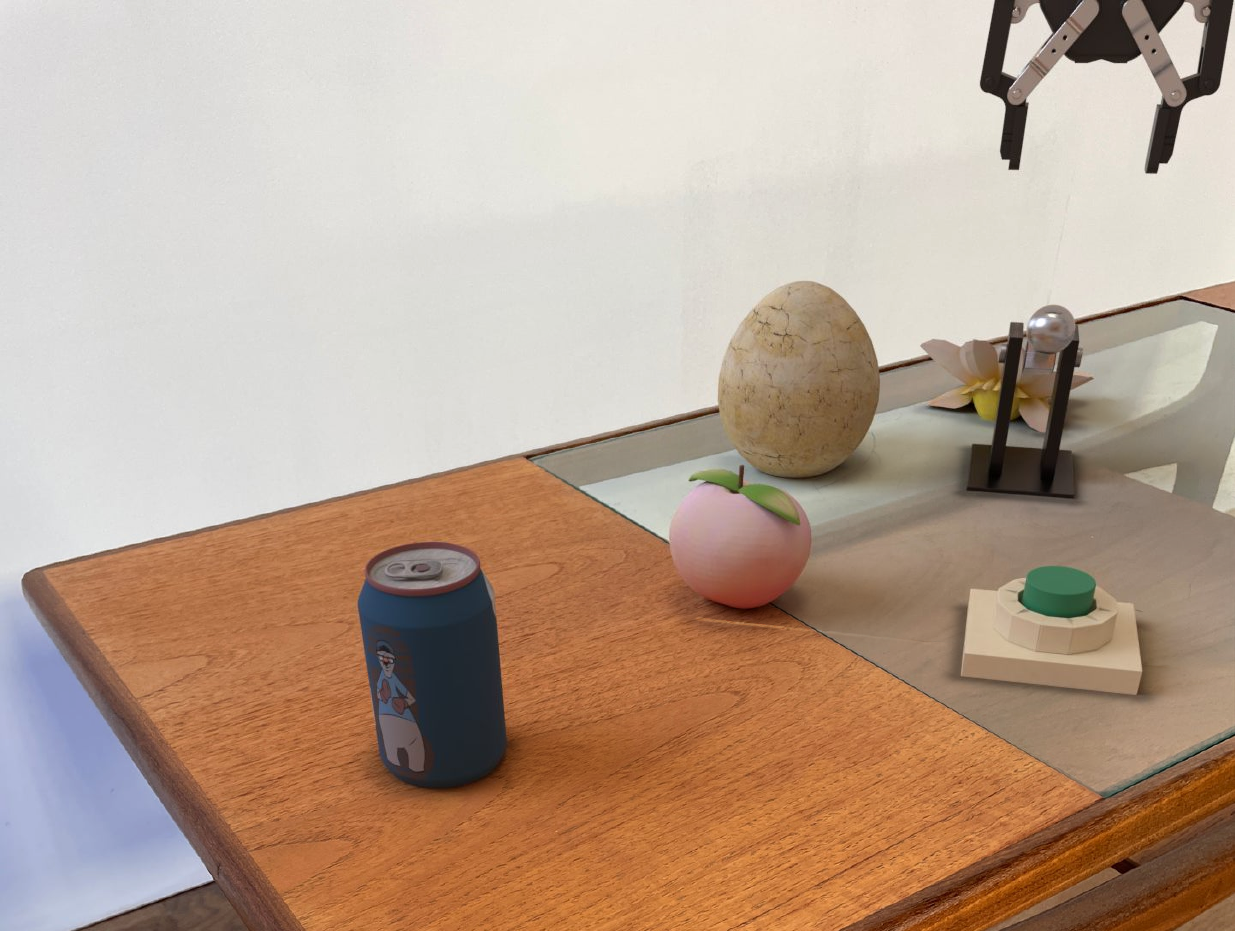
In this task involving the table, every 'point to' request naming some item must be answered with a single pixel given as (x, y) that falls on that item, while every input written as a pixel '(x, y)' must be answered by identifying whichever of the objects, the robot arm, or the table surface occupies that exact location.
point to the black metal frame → (1022, 465)
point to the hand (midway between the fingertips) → (1081, 170)
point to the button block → (1051, 643)
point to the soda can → (433, 664)
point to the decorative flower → (993, 382)
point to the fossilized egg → (799, 382)
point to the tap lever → (1047, 338)
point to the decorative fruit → (739, 539)
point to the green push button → (1059, 592)
